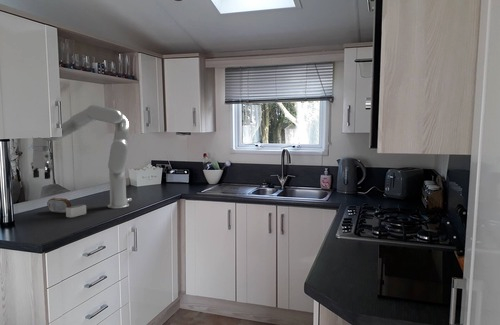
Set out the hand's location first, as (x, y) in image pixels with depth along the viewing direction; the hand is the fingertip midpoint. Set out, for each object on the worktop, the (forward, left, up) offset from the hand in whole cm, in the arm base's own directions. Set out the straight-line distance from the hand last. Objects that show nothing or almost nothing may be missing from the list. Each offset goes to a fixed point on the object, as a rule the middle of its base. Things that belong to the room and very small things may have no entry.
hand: (41, 178), depth 214 cm
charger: (-2, +26, -20) cm, 32 cm away
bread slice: (-2, +11, -20) cm, 23 cm away
